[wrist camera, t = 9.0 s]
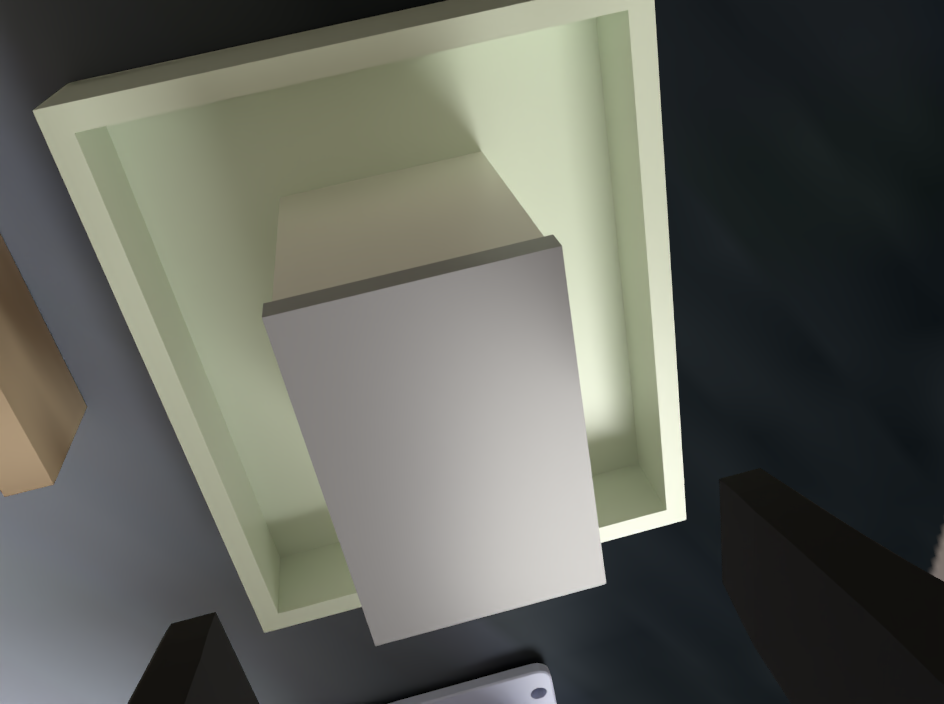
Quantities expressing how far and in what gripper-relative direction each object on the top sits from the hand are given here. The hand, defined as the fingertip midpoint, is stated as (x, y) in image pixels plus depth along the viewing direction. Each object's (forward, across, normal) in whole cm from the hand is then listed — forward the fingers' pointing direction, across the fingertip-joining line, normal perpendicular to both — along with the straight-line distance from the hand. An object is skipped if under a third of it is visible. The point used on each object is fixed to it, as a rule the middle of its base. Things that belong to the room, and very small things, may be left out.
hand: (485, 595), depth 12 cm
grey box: (+9, 0, 0) cm, 9 cm away
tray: (+9, 0, 0) cm, 9 cm away
